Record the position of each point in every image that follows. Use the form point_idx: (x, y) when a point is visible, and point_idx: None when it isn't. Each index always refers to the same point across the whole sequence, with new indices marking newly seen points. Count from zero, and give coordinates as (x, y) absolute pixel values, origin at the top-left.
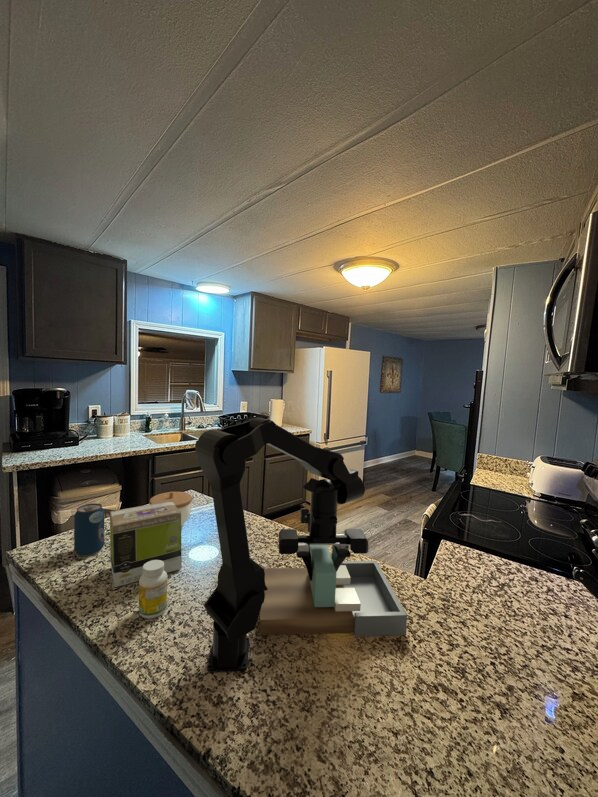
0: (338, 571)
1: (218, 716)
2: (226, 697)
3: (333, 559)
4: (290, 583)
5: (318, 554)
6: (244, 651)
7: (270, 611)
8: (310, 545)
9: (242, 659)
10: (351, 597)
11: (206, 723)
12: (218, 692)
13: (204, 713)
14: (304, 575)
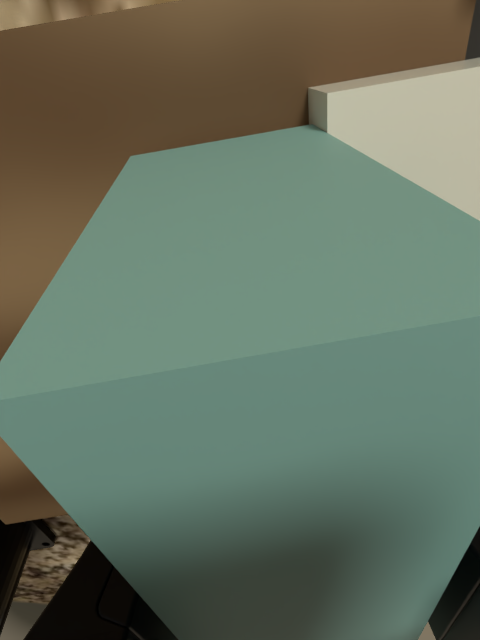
0: (452, 200)
1: (54, 583)
2: (48, 568)
3: (443, 598)
4: (25, 309)
5: (268, 616)
6: (24, 550)
7: (24, 493)
8: (71, 500)
9: (30, 538)
10: None
11: (40, 591)
12: (24, 566)
13: (25, 585)
14: (106, 191)
